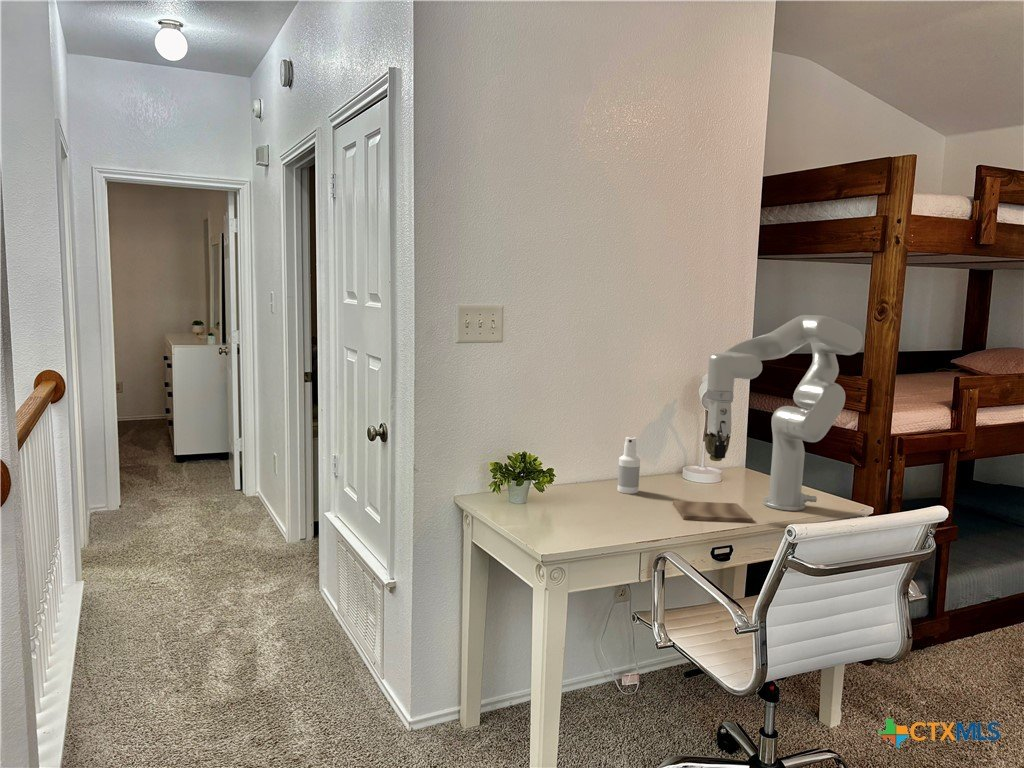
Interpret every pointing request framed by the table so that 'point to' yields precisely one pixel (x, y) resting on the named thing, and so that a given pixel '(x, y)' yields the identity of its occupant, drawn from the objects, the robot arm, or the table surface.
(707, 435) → the cup
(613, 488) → the table surface
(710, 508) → the walnut board
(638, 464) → the spray bottle
